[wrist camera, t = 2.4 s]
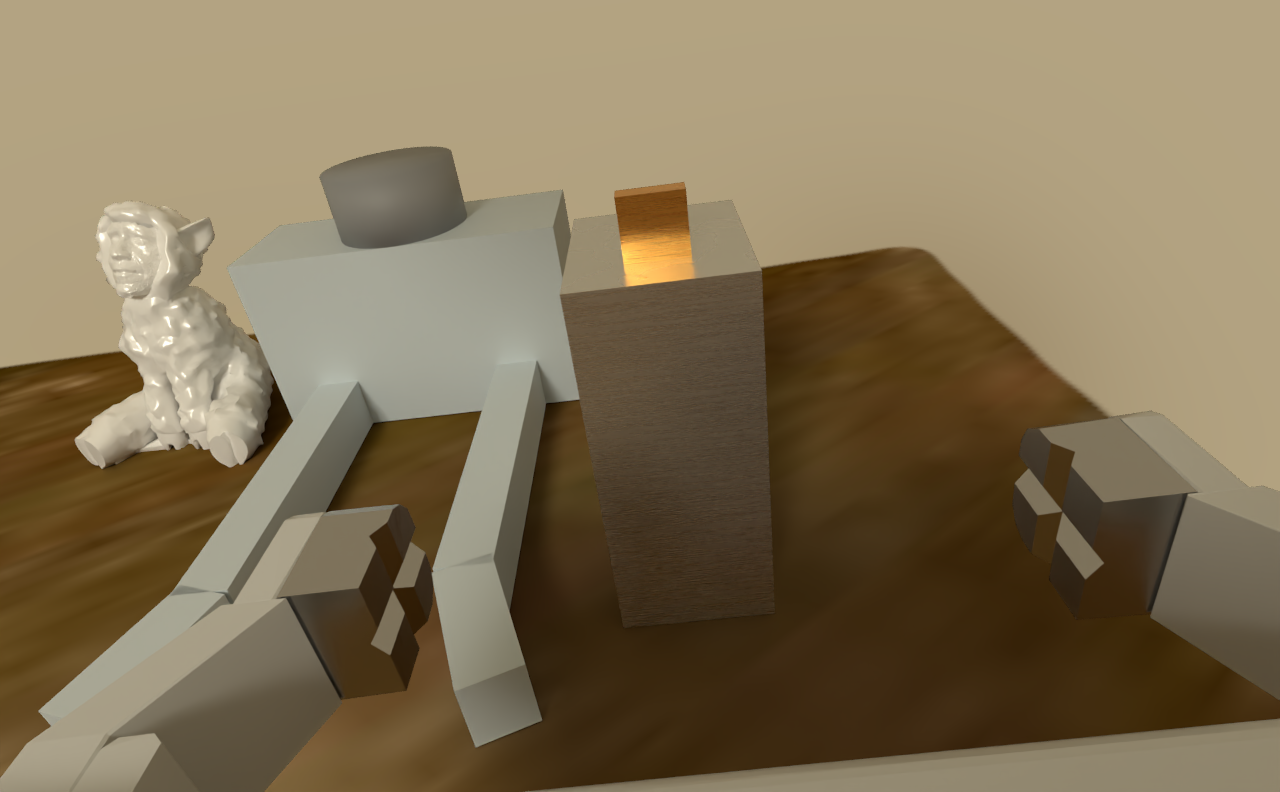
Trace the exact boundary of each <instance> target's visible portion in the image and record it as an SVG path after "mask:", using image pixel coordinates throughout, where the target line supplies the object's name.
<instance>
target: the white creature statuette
mask: <svg viewBox="0 0 1280 792" xmlns="http://www.w3.org/2000/svg"><path fill="white" fill-rule="evenodd" d="M104 214H105V215H103V216H102V217H101V218H100V221H99V223H98V225H97V227H98V232H97V234H96V235H95V237H96V240H97V241H98V243H99V247H100V251H99V252H98V253H97V255H96V260H97V261H99V262H100V263H102V269H103V271H104V273H105V274H106V276H107V279H106V280H107V282H108V283H109V284H110V285H112V287H113V288H114V289H116V292H117V295H119V296H120V297H122V298H124V304H123V306H122V311H121V317H122V323H123V324H124V325H123V333H122V335H121V338H120V341H119V349H120V350H121V351H122V352H124V353H125V354H126V355H127V356H129V358H130V359H131V360H132V361H134V362H135V363H136V364H137V365H138V371H139V372H140V374H141V376H142V377H143V379H144V387H143V390H142V391H140V392H138V393H136V394H133V395H131V396H130V397H128V398H127V399H125V400H124V401H122V402H121V403H119V404H115V405H113V406H111V407H110V408H109V409H107V410H105V411H104V412H103V413H101V414H100V415H98V416H96V417H95V418H93V419H92V424H91V425H90V426H89V427H87V428H86V429H85V430H84V431H83V432H82V434H80V435H79V436H78V437H77V438H75V443H76V445H77V447H78V449H79V450H80V451H81V453H82V454H83V455H84V456H85V457H86V458H87V459H88V460H89V461H90V462H91V463H92V464H94V465H99V466H100V467H101V468H102V469H104V468H106V467H109V466H111V465H113V464H116V465H117V464H119V463H120V462H122V461H124V460H125V459H127V458H129V457H131V456H133V455H135V454H137V453H139V452H144V451H153V450H162V449H166V450H170V449H171V447H172V446H174V447H175V449H176V450H178V449H181V448H183V447H185V446H186V445H187V444H193V445H194V446H195V447H196V449H199V448H200V447H201V446H202V448H203V449H204V450H205V449H210V451H211V453H212V455H213V456H214V457H215V459H216V460H218V461H219V462H220V463H222V464H224V465H226V466H228V467H233V466H234V465H236V464H237V463H239V464H240V465H241V464H244V462H245V461H246V460H247V459H249V458H251V457H252V455H253V454H254V452H255V451H256V449H257V448H258V447H259V445H263V440H262V437H261V433H263V432H264V431H265V428H264V425H265V424H264V423H265V421H266V420H267V419H268V413H267V411H268V409H269V408H270V406H271V400H270V396H271V393H272V391H273V390H272V386H271V385H272V384H273V383H274V379H273V378H272V376H271V375H270V370H271V369H270V366H269V364H268V362H267V360H266V357H265V355H264V353H263V350H262V348H261V347H260V346H259V344H258V343H257V342H256V341H255V340H253V339H251V338H249V337H248V335H247V334H246V333H245V332H244V330H243V329H242V328H240V327H237V326H236V325H234V324H233V323H232V322H231V320H230V318H229V317H228V316H227V315H226V307H225V305H224V304H222V303H221V302H218V301H216V300H215V299H214V298H212V297H211V296H210V295H209V294H208V293H206V292H205V291H204V290H202V289H201V288H199V287H194V286H193V287H192V286H188V285H189V284H190V283H191V281H192V280H193V279H194V278H195V277H196V276H198V275H199V274H200V272H201V271H200V267H201V266H202V265H203V263H202V257H203V254H204V253H205V252H206V251H207V250H208V249H207V247H208V246H209V245H210V244H211V243H212V241H213V240H214V236H215V234H214V231H213V227H212V223H211V221H210V218H209V217H207V218H206V217H205V218H203V219H200V220H198V221H196V222H193V223H190V221H189V220H188V219H186V218H184V217H183V216H182V215H181V214H179V213H178V212H177V211H176V210H173V209H171V208H169V207H166V206H162V207H156V206H152V205H149V204H146V203H143V202H133V201H126V202H124V203H123V204H122V203H113V204H111V205H109V206H107V207H106V208H105V209H104Z"/></svg>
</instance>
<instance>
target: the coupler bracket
mask: <svg viewBox="0 0 1280 792" xmlns="http://www.w3.org/2000/svg"><path fill="white" fill-rule="evenodd" d="M320 180H321V183H322V186H323V189H324V192H325V195H326V198H327V201H328V204H329V206H330V209H331V212H332V215H333V218H334V219H328V220H320V221H313V222H304V223H296V224H288V225H281V226H279V227H277V228H276V229H275V230H274V231H272V232H271V233H270V234H268V235H267V236H266V237H265V238H264V239H262V240H261V241H260V242H258V243H257V244H256V245H255V246H253V247H252V248H251V249H250V250H248V251H247V252H246V253H244V254H243V255H242V256H241V257H239V258H238V259H237V260H236V261H234V262H233V263H232V264H230V265H229V266H228V267H227V270H228V272H229V275H230V277H231V279H232V281H233V284H234V286H235V288H236V290H237V293H238V295H239V297H240V300H241V302H242V304H243V307H244V309H245V311H246V314H247V316H248V318H249V320H250V323H251V325H252V327H253V330H254V332H255V334H256V337H257V339H258V341H259V343H260V346H261V348H262V350H263V353H264V355H265V357H266V360H267V362H268V364H269V366H270V369H271V371H272V373H273V376H274V378H275V380H276V383H277V385H278V387H279V389H280V392H281V394H282V396H283V399H284V401H285V403H286V405H287V408H288V410H289V412H290V415H291V417H292V419H293V422H292V424H291V425H290V427H289V428H288V429H287V431H286V432H285V434H284V435H283V437H282V438H281V439H280V441H279V442H278V444H277V445H276V446H275V448H274V449H273V451H272V452H271V453H270V455H269V456H268V458H267V459H266V460H265V462H264V463H263V465H262V466H261V468H260V469H259V470H258V472H257V473H256V475H255V476H254V477H253V479H252V480H251V482H250V483H249V484H248V486H247V487H246V489H245V490H244V492H243V493H242V494H241V496H240V497H239V499H238V500H237V501H236V503H235V504H234V506H233V507H232V508H231V510H230V511H229V513H228V514H227V515H226V517H225V518H224V520H223V521H222V523H221V524H220V525H219V527H218V528H217V530H216V531H215V532H214V534H213V535H212V537H211V538H210V539H209V541H208V542H207V544H206V545H205V547H204V548H203V549H202V551H201V552H200V554H199V555H198V556H197V558H196V559H195V561H194V562H193V563H192V565H191V566H190V568H189V569H188V570H187V572H186V573H185V575H184V576H183V578H182V579H181V580H180V582H179V583H178V585H177V586H176V587H175V589H174V590H173V592H172V593H171V594H169V595H168V596H167V597H166V598H165V599H164V600H163V601H162V602H160V603H159V604H158V605H157V606H156V607H155V608H154V609H153V610H151V611H150V612H149V613H148V614H147V615H146V616H145V617H144V618H142V619H141V620H140V621H139V622H138V623H137V624H136V625H135V626H133V627H132V628H131V629H130V630H129V631H128V632H127V633H126V634H124V635H123V636H122V637H121V638H120V639H119V640H118V641H117V642H115V643H114V644H113V645H112V646H111V647H110V648H109V649H108V650H106V651H105V652H104V653H103V654H102V655H101V656H100V657H99V658H97V659H96V660H95V661H94V662H93V663H92V664H91V665H90V666H88V667H87V668H86V669H85V670H84V671H83V672H82V673H80V674H79V675H78V676H77V677H76V678H75V679H74V680H73V681H71V682H70V683H69V684H68V685H67V686H66V687H65V688H64V689H62V690H61V691H60V692H59V693H58V694H57V695H56V696H55V697H53V698H52V699H51V700H50V701H49V702H48V703H47V704H46V705H44V706H43V707H42V708H41V709H40V710H39V712H40V713H41V715H42V716H43V717H44V718H45V719H46V720H47V722H48V723H49V724H50V725H51V726H52V725H54V724H55V723H57V722H58V721H59V720H61V719H62V718H64V717H65V716H66V715H68V714H69V713H71V712H72V711H73V710H75V709H76V708H78V707H79V706H80V705H82V704H83V703H85V702H86V701H87V700H89V699H90V698H92V697H93V696H95V695H96V694H97V693H99V692H100V691H102V690H103V689H104V688H106V687H107V686H109V685H110V684H111V683H113V682H114V681H116V680H117V679H118V678H120V677H121V676H123V675H124V674H125V673H127V672H128V671H130V670H131V669H132V668H134V667H135V666H137V665H138V664H140V663H141V662H142V661H144V660H145V659H147V658H148V657H149V656H151V655H152V654H154V653H155V652H156V651H158V650H159V649H161V648H162V647H163V646H165V645H166V644H168V643H169V642H170V641H172V640H173V639H175V638H176V637H178V636H179V635H180V634H182V633H183V632H185V631H186V630H187V629H189V628H190V627H192V626H193V625H194V624H196V623H197V622H199V621H200V620H201V619H203V618H204V617H206V616H207V615H208V614H210V613H211V612H213V611H214V610H215V609H217V608H218V607H220V606H221V605H229V604H233V603H234V601H235V600H236V598H237V597H238V595H239V593H240V592H241V590H242V589H243V587H244V585H245V584H246V582H247V580H248V579H249V577H250V576H251V574H252V572H253V571H254V569H255V568H256V566H257V564H258V563H259V561H260V559H261V558H262V556H263V555H264V553H265V551H266V550H267V548H268V546H269V545H270V543H271V542H272V540H273V538H274V537H275V535H276V534H277V532H278V530H279V529H280V527H281V525H282V524H283V522H284V521H285V520H286V519H288V518H290V517H292V516H294V515H303V514H311V513H320V512H326V510H327V508H328V506H329V504H330V503H331V501H332V499H333V497H334V495H335V493H336V491H337V489H338V488H339V486H340V484H341V482H342V480H343V478H344V476H345V475H346V473H347V471H348V469H349V467H350V465H351V463H352V462H353V460H354V458H355V456H356V454H357V452H358V450H359V449H360V447H361V445H362V443H363V441H364V439H365V437H366V435H367V434H368V432H369V430H370V428H371V426H372V424H373V423H376V422H385V421H394V420H403V419H411V418H420V417H429V416H438V415H447V414H456V413H464V412H473V411H482V413H481V416H480V419H479V423H478V426H477V429H476V432H475V435H474V438H473V442H472V445H471V448H470V451H469V454H468V458H467V461H466V464H465V467H464V470H463V474H462V477H461V480H460V483H459V486H458V490H457V493H456V496H455V499H454V502H453V505H452V509H451V512H450V515H449V518H448V521H447V525H446V528H445V531H444V534H443V537H442V541H441V544H440V547H439V550H438V553H437V556H436V560H435V563H434V566H433V571H434V572H433V573H432V578H433V584H434V589H435V594H436V599H437V605H438V610H439V615H440V620H441V626H442V631H443V636H444V641H445V647H446V652H447V657H448V662H449V668H450V673H451V678H452V683H453V689H454V693H455V695H456V698H457V701H458V703H459V706H460V708H461V711H462V713H463V716H464V719H465V721H466V724H467V726H468V729H469V731H470V734H471V737H472V739H473V742H474V744H475V747H478V746H481V745H483V744H486V743H488V742H491V741H493V740H496V739H498V738H500V737H503V736H505V735H508V734H510V733H513V732H515V731H518V730H520V729H523V728H525V727H527V726H530V725H532V724H535V723H537V722H540V721H542V718H541V714H540V711H539V708H538V704H537V701H536V698H535V695H534V691H533V688H532V685H531V681H530V678H529V675H528V671H527V668H526V665H525V662H524V658H523V655H522V652H521V648H520V645H519V642H518V639H517V635H516V632H515V629H514V625H513V622H512V619H511V616H510V612H509V611H510V605H511V599H512V594H513V588H514V582H515V577H516V571H517V565H518V560H519V554H520V548H521V543H522V537H523V531H524V526H525V520H526V515H527V509H528V503H529V498H530V492H531V486H532V481H533V475H534V469H535V464H536V458H537V452H538V447H539V441H540V435H541V430H542V424H543V418H544V413H545V407H546V403H553V402H562V401H571V400H580V398H579V393H578V388H577V383H576V377H575V372H574V367H573V362H572V357H571V351H570V346H569V341H568V336H567V330H566V325H565V320H564V315H563V310H562V304H561V299H560V290H561V285H562V280H563V275H564V269H565V264H566V259H567V254H568V249H569V244H570V238H571V234H570V228H569V222H568V217H567V211H566V205H565V199H564V194H563V190H557V191H548V192H541V193H533V194H525V195H517V196H509V197H501V198H493V199H486V200H477V201H470V202H464V200H463V196H462V193H461V188H460V184H459V180H458V176H457V172H456V168H455V164H454V160H453V157H452V152H451V150H449V149H447V148H443V147H415V148H405V149H398V150H391V151H386V152H381V153H376V154H372V155H367V156H363V157H359V158H356V159H352V160H349V161H346V162H343V163H341V164H338V165H335V166H333V167H331V168H329V169H327V170H325V171H324V172H323V173H322V174H321V175H320Z"/></svg>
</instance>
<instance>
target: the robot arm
mask: <svg viewBox="0 0 1280 792" xmlns="http://www.w3.org/2000/svg"><path fill="white" fill-rule="evenodd" d="M1019 456H1020V458H1021V459H1022V460H1023V461H1024V463H1025V464H1026V465H1027V467H1028V470H1027V471H1026V472H1025V473H1024V474H1023V475H1022V476H1021V477H1020V478H1019V479H1018V480H1017V481H1016V482H1015V485H1014V495H1013V510H1014V516H1015V522H1016V526H1017V528H1018V531H1019V533H1020V536H1021V538H1022V540H1023V542H1024V543H1025V545H1026V546H1027V548H1028V549H1029V551H1030V552H1031V554H1033V555H1034V556H1036V557H1038V558H1040V559H1042V560H1044V561H1046V562H1048V563H1049V564H1051V570H1050V575H1049V581H1050V582H1051V583H1052V585H1053V586H1054V588H1055V589H1056V591H1057V592H1058V594H1059V595H1060V597H1061V598H1062V599H1063V601H1064V602H1065V604H1066V605H1067V607H1068V608H1069V610H1070V611H1071V613H1072V614H1073V615H1074V617H1075V618H1076V620H1081V619H1093V618H1106V617H1118V616H1131V615H1143V614H1151V616H1150V618H1152V619H1154V620H1155V621H1157V622H1158V623H1160V624H1161V625H1163V626H1164V627H1166V628H1168V629H1169V630H1171V631H1172V632H1174V633H1175V634H1177V635H1178V636H1180V637H1182V638H1183V639H1185V640H1186V641H1188V642H1189V643H1191V644H1193V645H1194V646H1196V647H1197V648H1199V649H1200V650H1202V651H1203V652H1205V653H1207V654H1208V655H1210V656H1211V657H1213V658H1214V659H1216V660H1217V661H1219V662H1221V663H1222V664H1224V665H1225V666H1227V667H1228V668H1230V669H1231V670H1233V671H1235V672H1236V673H1238V674H1239V675H1241V676H1242V677H1244V678H1245V679H1247V680H1249V681H1250V682H1252V683H1253V684H1255V685H1256V686H1258V687H1259V688H1261V689H1263V690H1264V691H1266V692H1267V693H1269V694H1270V695H1272V696H1273V697H1275V698H1277V699H1278V700H1280V492H1279V491H1277V490H1274V489H1271V488H1268V487H1265V486H1256V487H1248V486H1247V485H1246V484H1245V483H1243V482H1242V481H1241V480H1240V479H1239V478H1237V477H1236V476H1235V475H1234V474H1233V473H1232V472H1230V471H1229V470H1228V469H1227V468H1226V467H1224V466H1223V465H1222V464H1221V463H1220V462H1219V461H1217V460H1216V459H1215V458H1214V457H1213V456H1211V455H1210V454H1209V453H1208V452H1207V451H1206V450H1204V449H1203V448H1202V447H1201V446H1200V445H1198V444H1197V443H1196V442H1195V441H1194V440H1192V439H1191V438H1190V437H1189V436H1188V435H1186V434H1185V433H1184V432H1183V431H1182V430H1181V429H1179V428H1178V427H1177V426H1176V425H1175V424H1173V423H1172V422H1171V421H1170V420H1169V419H1168V418H1166V417H1165V416H1164V415H1162V414H1160V413H1156V412H1153V411H1147V412H1140V413H1133V414H1126V415H1120V416H1113V417H1109V418H1108V419H1100V420H1092V421H1084V422H1077V423H1069V424H1061V425H1053V426H1045V427H1037V428H1029V429H1027V430H1026V432H1025V434H1024V436H1023V438H1022V440H1021V446H1020V452H1019ZM415 528H416V527H415V525H414V523H413V520H412V518H411V516H410V513H409V511H408V509H407V508H405V507H403V506H402V505H400V504H398V505H388V506H377V507H367V508H357V509H347V510H337V511H330V512H320V513H311V514H303V515H294V516H292V517H290V518H288V519H286V520H285V521H284V522H283V524H282V525H281V527H280V529H279V530H278V532H277V534H276V535H275V537H274V538H273V540H272V542H271V543H270V545H269V546H268V548H267V550H266V551H265V553H264V555H263V556H262V558H261V559H260V561H259V563H258V564H257V566H256V568H255V569H254V571H253V572H252V574H251V576H250V577H249V579H248V580H247V582H246V584H245V585H244V587H243V589H242V590H241V592H240V593H239V595H238V597H237V598H236V600H235V601H234V603H233V604H229V605H221V606H220V607H218V608H217V609H215V610H214V611H213V612H211V613H210V614H208V615H207V616H206V617H204V618H203V619H201V620H200V621H199V622H197V623H196V624H194V625H193V626H192V627H190V628H189V629H187V630H186V631H185V632H183V633H182V634H180V635H179V636H178V637H176V638H175V639H173V640H172V641H170V642H169V643H168V644H166V645H165V646H163V647H162V648H161V649H159V650H158V651H156V652H155V653H154V654H152V655H151V656H149V657H148V658H147V659H145V660H144V661H142V662H141V663H140V664H138V665H137V666H135V667H134V668H132V669H131V670H130V671H128V672H127V673H125V674H124V675H123V676H121V677H120V678H118V679H117V680H116V681H114V682H113V683H111V684H110V685H109V686H107V687H106V688H104V689H103V690H102V691H100V692H99V693H97V694H96V695H95V696H93V697H92V698H90V699H89V700H87V701H86V702H85V703H83V704H82V705H80V706H79V707H78V708H76V709H75V710H73V711H72V712H71V713H69V714H68V715H66V716H65V717H64V718H62V719H61V720H59V721H58V722H57V723H55V724H54V725H52V726H51V727H50V728H48V729H47V730H45V731H44V732H42V733H41V734H40V735H38V736H37V737H35V738H34V739H33V740H31V741H30V742H28V743H27V744H26V746H25V747H24V748H23V749H22V751H21V752H20V753H19V755H18V756H17V757H16V759H15V760H14V761H13V762H12V764H11V765H10V766H9V768H8V769H7V770H6V772H5V773H4V774H3V775H2V777H1V778H0V792H264V791H265V790H266V789H267V788H268V786H269V785H270V784H271V783H272V782H273V781H274V780H275V779H276V777H277V776H278V775H279V774H280V773H281V772H282V771H283V769H284V768H285V767H286V766H287V765H288V764H289V763H290V762H291V760H292V759H293V758H294V757H295V756H296V755H297V754H298V753H299V751H300V750H301V749H302V748H303V747H304V746H305V745H306V743H307V742H308V741H309V740H310V739H311V738H312V737H313V736H314V734H315V733H316V732H317V731H318V730H319V729H320V728H321V726H322V725H323V724H324V723H325V722H326V721H327V720H328V719H329V717H330V716H331V715H332V714H333V713H334V712H335V711H336V709H337V708H338V707H339V706H340V705H341V704H342V701H341V700H342V699H350V698H357V697H365V696H372V695H379V694H387V693H394V692H402V691H406V690H407V687H408V684H409V681H410V677H411V674H412V671H413V668H414V664H415V661H416V658H417V655H418V652H419V646H418V644H417V641H416V639H415V636H414V634H415V633H416V632H417V631H418V630H419V629H420V628H421V627H422V626H423V625H424V624H425V623H426V622H427V621H428V618H429V615H430V611H431V607H432V602H433V578H432V573H431V567H430V564H429V561H428V559H427V556H426V553H425V552H424V551H422V550H421V549H420V548H418V547H417V546H415V545H414V544H413V543H411V539H412V536H413V533H414V531H415ZM527 792H1280V719H1271V720H1261V721H1251V722H1240V723H1230V724H1219V725H1209V726H1199V727H1188V728H1178V729H1168V730H1157V731H1147V732H1136V733H1126V734H1116V735H1105V736H1095V737H1085V738H1074V739H1064V740H1054V741H1043V742H1033V743H1023V744H1012V745H1002V746H992V747H981V748H971V749H961V750H950V751H940V752H930V753H919V754H909V755H898V756H888V757H878V758H867V759H857V760H847V761H836V762H826V763H816V764H805V765H795V766H785V767H774V768H764V769H754V770H743V771H733V772H723V773H713V774H702V775H692V776H682V777H671V778H661V779H651V780H640V781H630V782H620V783H609V784H599V785H589V786H578V787H568V788H558V789H547V790H537V791H527Z"/></svg>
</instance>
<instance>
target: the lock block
mask: <svg viewBox="0 0 1280 792" xmlns="http://www.w3.org/2000/svg"><path fill="white" fill-rule="evenodd" d="M614 198H615V205H616V212H617V214H614V215H606V216H598V217H589V218H582V219H574V223H573V228H572V233H571V238H570V244H569V249H568V254H567V259H566V264H565V269H564V275H563V280H562V285H561V290H560V299H561V304H562V310H563V315H564V320H565V325H566V330H567V336H568V341H569V346H570V351H571V357H572V362H573V367H574V372H575V377H576V383H577V388H578V393H579V398H580V403H581V409H582V414H583V419H584V424H585V430H586V435H587V440H588V445H589V450H590V456H591V461H592V466H593V471H594V476H595V482H596V487H597V492H598V497H599V503H600V508H601V513H602V518H603V523H604V529H605V534H606V539H607V544H608V549H609V555H610V560H611V565H612V570H613V576H614V581H615V586H616V591H617V596H618V602H619V607H620V612H621V617H622V622H623V628H630V627H641V626H651V625H661V624H671V623H682V622H692V621H702V620H713V619H723V618H733V617H743V616H754V615H764V614H774V613H775V605H774V579H773V552H772V526H771V500H770V474H769V447H768V421H767V395H766V369H765V343H764V316H763V290H762V270H761V268H760V266H759V263H758V261H757V258H756V256H755V253H754V251H753V249H752V246H751V244H750V242H749V239H748V237H747V235H746V232H745V230H744V228H743V225H742V223H741V221H740V218H739V216H738V214H737V211H736V209H735V207H734V204H733V202H732V200H726V201H718V202H711V203H702V204H694V205H687V197H686V188H685V184H684V182H681V183H674V184H666V185H657V186H649V187H641V188H634V189H626V190H619V191H615V197H614Z"/></svg>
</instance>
